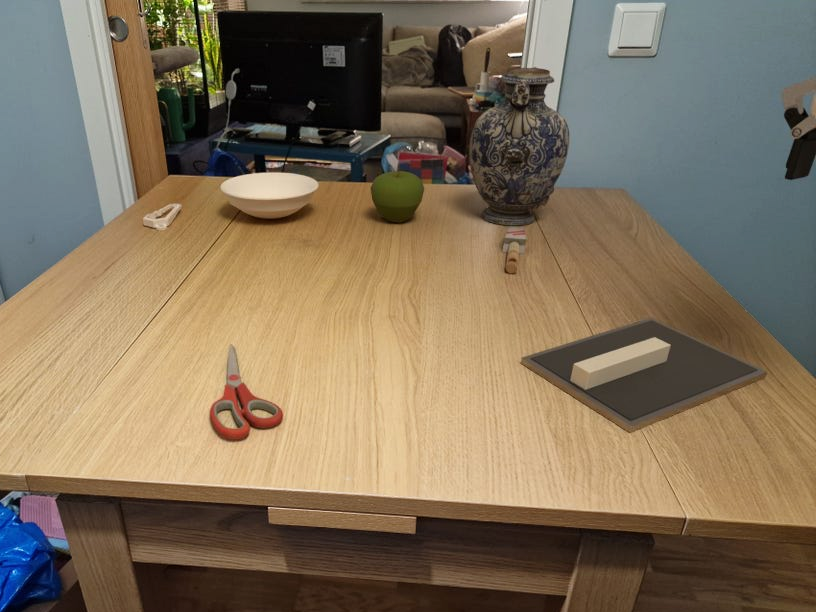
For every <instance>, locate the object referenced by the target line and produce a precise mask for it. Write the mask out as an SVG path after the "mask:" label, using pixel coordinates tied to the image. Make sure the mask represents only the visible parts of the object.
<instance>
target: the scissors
mask: <svg viewBox="0 0 816 612" xmlns="http://www.w3.org/2000/svg"><path fill="white" fill-rule="evenodd" d="M241 379H242V377H241V374H240V367H239V362H238V354H237V349H236V347H235V346H234V345H233V344H232V343H231V344H230V345H229V348H228V355H227V364H226V384H224V390H223V395H222V396H221V398H219V399H217V400H216V401H214V402H213V403H212V404H211V406H210V409H209V416H210V421H211V424H212V426H213V427H214V429H215V430H216V431H217V433H218V434H219V435H220V436H222V437H223V438H225V439H229V440H240V439H244V438H245V437H247V436H248V435H249V434H250V431H251V426H253V427H256V428H259V429H267V428H268V429H269V428H272V427H276V426H277V425H279V424H280V423H281V422H282V420H283V418H284V412H283V409H281V407H280V406H279V405H277V404H276V403H274V402H272V401H270V400H267V399H263V398H261V397H258V396H255V395H254V394H253V393H252V392H251V391H250V389H249V388H248V387H247V385H246V383H245V382H242V380H241ZM238 399H239V401H238ZM239 402H240V405H241V407H242V409H241V408H240V407H239V406H240V405H239ZM255 409H260V410H265V411H267V412H270V413H271V414H273V415H272V416H269V417H260V416H257V415H256V414H254V413H253V412H252V410H255ZM223 410H231V414H232V416H233V419H234V421H235V422H236V424H237V425H238V427H236V428H235V427H234V428H233V427H227V426H226V425H225V424H223V422H222V421H221V420H220V418H219V415H218V413H219V412H221V411H223Z"/></svg>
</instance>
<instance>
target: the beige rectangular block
mask: <svg viewBox="0 0 816 612" xmlns="http://www.w3.org/2000/svg"><path fill="white" fill-rule="evenodd" d="M670 346H671V345H670V344H668V343H666V342H664V341H662V340H660V339H657V338H655V337H654V338H651V339H648V340H645V341H642V342H638V343H635V344H632V345H629V346H626V347H623V348H620V349H617V350H614V351H611V352H608V353H605V354H602V355H599V356H596V357H593V358H590V359H587V360H583V361H580V362H577V363H574V365H573V370H572V374H571V379H570V381H571V382H573V383H575V384H576V385H578V386H579V387H581V388H583V389H584V390H587V389H590V388H593V387H596V386H598V385H601V384H604V383H607V382H610V381H612V380H615V379H618V378H621V377H624V376H627V375H629V374H632V373H635V372H638V371H641V370H644V369H646V368H649V367H652V366H655V365H658V364H661V363H663V362H666V360H667V357H668V353H669V350H670Z"/></svg>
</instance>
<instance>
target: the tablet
mask: <svg viewBox="0 0 816 612" xmlns="http://www.w3.org/2000/svg"><path fill="white" fill-rule="evenodd" d="M654 337H655V338H657V339H660V340H662V341H664V342H666V343H668V344H670V345H671V346H670V350H669V353H668V357H667V360H666V362H663V363H661V364H658V365H655V366H652V367H649V368H646V369H644V370H641V371H638V372H635V373H632V374H629V375H627V376H624V377H621V378H618V379H615V380H612V381H610V382H607V383H604V384H601V385H598V386H596V387H593V388H590V389H587V390H584V389H583V388H581V387H579V386H578V385H576V384H575V383H573V382H571V381H570V379H571V374H572V370H573V365H574V363H577V362H580V361H583V360H587V359H590V358H593V357H596V356H599V355H602V354H605V353H608V352H611V351H614V350H617V349H620V348H623V347H626V346H629V345H632V344H635V343H638V342H642V341H645V340H648V339H651V338H654ZM520 364H521V365H523V366H524V367H526V368H527V369H529V370H530V371H532V372H533V373H534V374H537V375H539V377H542V378H543V379H544V380H546V381H547V382H549V383H551V384H553V385H554V386H556V387H557V388H558V389H560V390H562V391H563V392H565V393H566V394H568V395H569V396H571V397H573V398H574V399H576V400H577V401H579V402H581V403H582V404H584V405H585V406H587V407H589V408H590V409H592V410H593V411H595V412H597V413H598V414H600V415H601V416H603V417H604V418H605V419H607V420H609V421H610V422H612V423H614V424H616V426H618V427H620V428H622V429H623V430H625V431H626V432H627V433H634V432H635V431H638V430H640V429H643V428H645V427H648V426H650V425H652V424H655V423H658V422H660V421H662V420H665V419H667V418H669V417H673V416H674V415H677V414H679V413H682V412H684V411H687V410H690V409H692V408H694V407H697V406H699V405H702V404H704V403H706V402H709V401H711V400H714V399H716V398H719V397H721V396H724V395H726V394H729V393H731V392H734V391H736V390H739V389H741V388H743V387H745V386H748V385H750V384H753V383H755V382H759V381H760V380H762V379H766V377H767V374H768V371H767V370H765V369H763V368H761V367H759V366H756V365H754V364H752V363H750V362H747V361H745V360H743V359H741V358H739V357H737V356H735V355H732V354H730V353H729V352H726V351H725V350H722V349H720V348H718V347H715V346H713V345H711V344H709V343H706V342H704V341H702V340H700V339H698V338H697V337H693V336H691V335H690V334H688V333H685V332H683V331H681V330H678V329H676V328H674V327H672V326H670V325H667V324H665V323H663V322H661V321H659V320H657V319H655V318H652V317H649V318H645V319H642V320H639V321H636V322H633V323H629V324H626V325H622V326H619V327H616V328H613V329H609V330H606V331H603V332H600V333H596V334H594V335H590V336H587V337H583V338H580V339H576V340H574V341H571V342H567V343H564V344H561V345H557V346H554V347H552V348H548V349H545V350H541V351H538V352H535V353H532V354H529V355H526V356H522V357H521V358H520Z"/></svg>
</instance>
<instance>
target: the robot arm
mask: <svg viewBox="0 0 816 612" xmlns="http://www.w3.org/2000/svg"><path fill="white" fill-rule="evenodd" d="M813 93H814V94H813ZM809 94H813V97H812V101H811V103H810V110H809V113H810V115H809V114H808V111H807V110H806V109H805V107H804V98H805V96H807V95H809ZM781 98H782V105H783V109H784V113H783V118H784V120H785V121H786V123H787V125H788V127H789V129H790V137H791V138H792V139H793V141H792V145H791V148H790V151H789V154H788V156H787V160H786V163H785V168H786V171H785V174H784V179H785V180H788V181H793V180H798V179H803V178H807V177H808V176H809V175H810V172H811V170H812V167H813V165H814V161H815V159H816V76H813V77H811V78H808V79H805V80H803V81H800V82H797V83H794V84H792V85H790V86H787V87H784V89H782V91H781Z"/></svg>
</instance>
